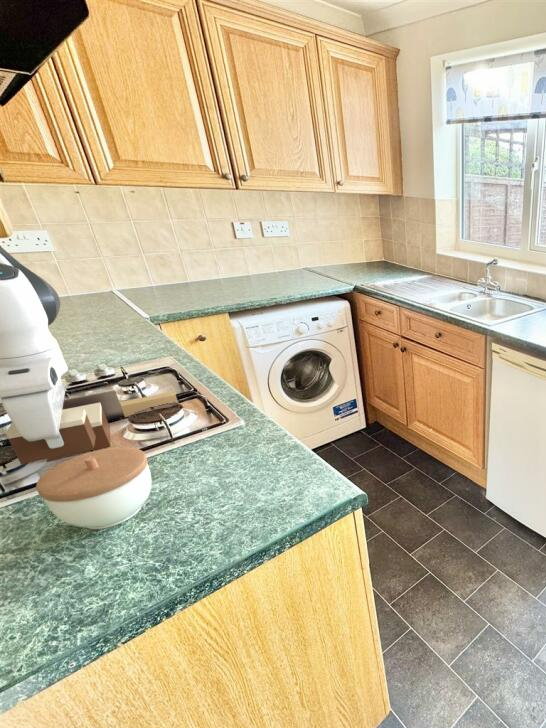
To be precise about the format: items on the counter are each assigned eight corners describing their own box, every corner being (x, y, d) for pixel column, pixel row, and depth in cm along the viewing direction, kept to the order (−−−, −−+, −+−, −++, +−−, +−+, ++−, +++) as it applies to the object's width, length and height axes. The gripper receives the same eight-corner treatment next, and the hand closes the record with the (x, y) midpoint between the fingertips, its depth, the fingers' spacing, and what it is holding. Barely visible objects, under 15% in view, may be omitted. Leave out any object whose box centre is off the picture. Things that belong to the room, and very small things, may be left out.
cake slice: (20, 464, 70) (5, 433, 68) (26, 451, 74) (11, 421, 71) (94, 448, 76) (82, 419, 73) (95, 436, 79) (84, 408, 76)
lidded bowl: (126, 542, 64) (100, 484, 60) (35, 543, 63) (2, 484, 58) (178, 488, 76) (160, 437, 71) (102, 488, 74) (79, 436, 70)
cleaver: (43, 435, 88) (30, 408, 85) (44, 430, 89) (31, 403, 87) (178, 405, 102) (171, 381, 99) (177, 402, 104) (170, 378, 101)
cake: (47, 461, 80) (34, 435, 78) (51, 439, 87) (39, 414, 84) (110, 446, 86) (100, 420, 83) (109, 426, 92) (100, 402, 90)
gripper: (7, 349, 73) (38, 418, 79) (-15, 393, 59) (25, 472, 65) (58, 343, 77) (84, 409, 83) (49, 383, 63) (81, 459, 69)
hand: (58, 437), depth 74 cm, fingers closed on cake slice, 5 cm apart
